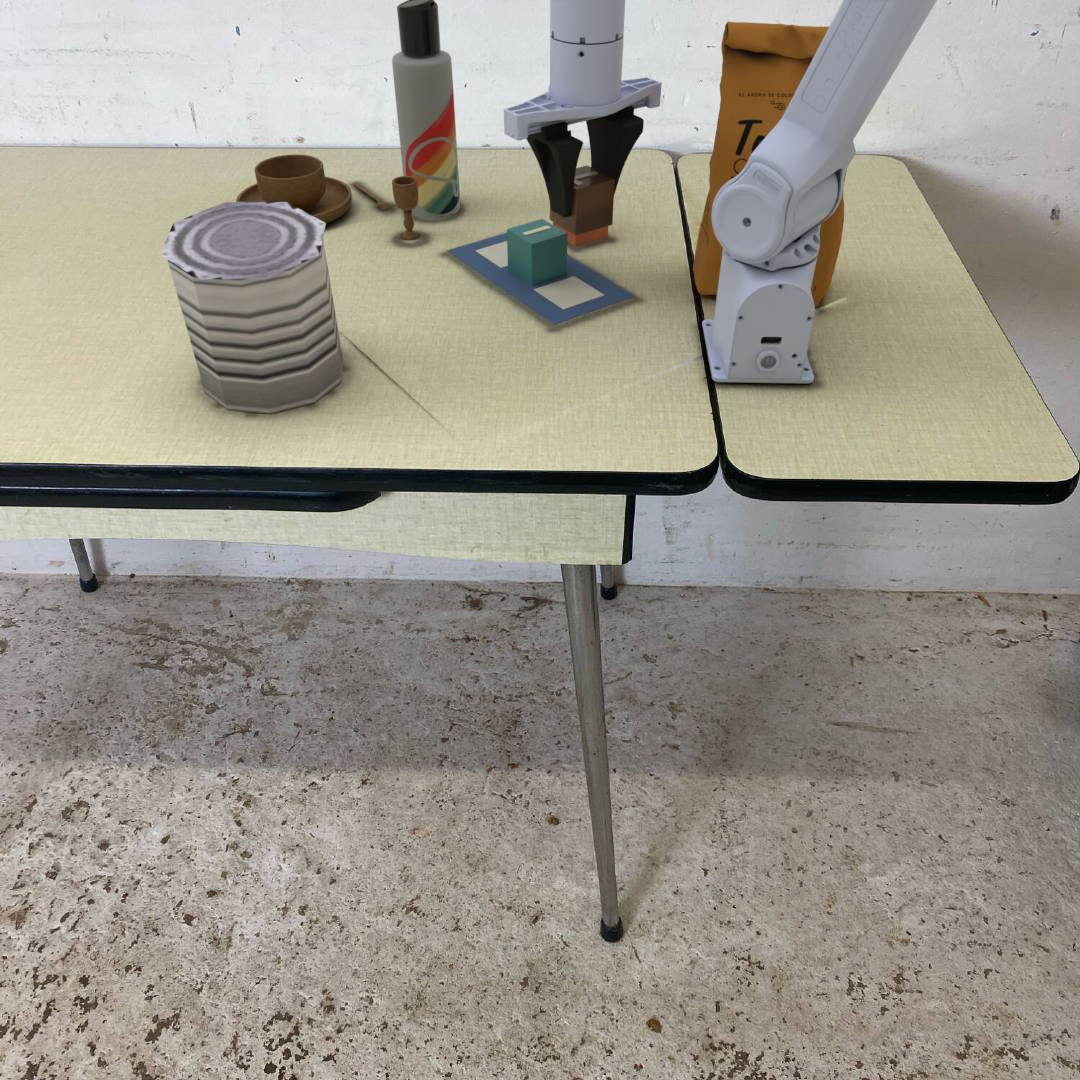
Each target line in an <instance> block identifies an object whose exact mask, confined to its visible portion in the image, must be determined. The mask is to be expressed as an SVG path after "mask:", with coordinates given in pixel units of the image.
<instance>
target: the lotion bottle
mask: <svg viewBox="0 0 1080 1080" xmlns="http://www.w3.org/2000/svg"><path fill="white" fill-rule="evenodd" d="M396 12H397V13H396V14H397V22H398V32H399V33H398V35H399V42H400V51H399V52H397V53H395V54H394V55H393V56H392V59H391V63H392V64H391V65H392V75H393V87H394V96H395V105H396V106H395V107H396V115H397V116H396V117H397V126H398V127H397V128H398V136H399V145H400V146H399V147H400V154H401V166H402V176H411V177H415V178H416V179H417V184H418V204H417V206H416V207H415V208H414V209H412V210H411V211H412V216H414V217H418V218H424V219H440V218H446V217H449V216H452V215H454V214H456V213H458V211H459V210H460V208H461V196H460V195H461V194H460V192H461V191H460V176H459V159H458V158H459V157H458V141H457V127H456V126H457V125H456V112H455V111H456V110H455V95H454V94H455V93H454V80H453V78H454V77H453V65H452V64H453V63H452V57H451V54H450V53H449V52H448V51H445V50H442V49H441V33H440V32H441V31H440V19H439V18H440V15H439V4H438V3H437V2H436V1H435V0H405V1H403V2H401V3H399V4H398V5H397V6H396Z"/></svg>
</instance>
